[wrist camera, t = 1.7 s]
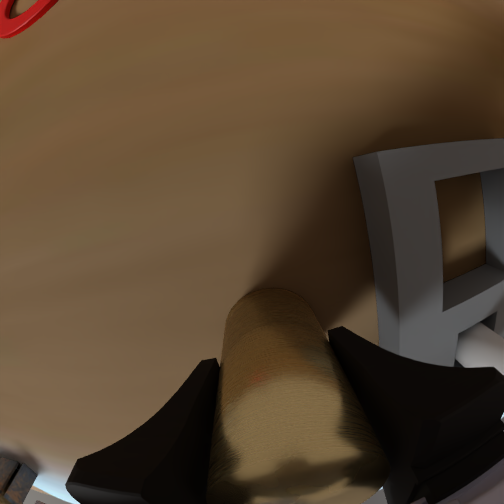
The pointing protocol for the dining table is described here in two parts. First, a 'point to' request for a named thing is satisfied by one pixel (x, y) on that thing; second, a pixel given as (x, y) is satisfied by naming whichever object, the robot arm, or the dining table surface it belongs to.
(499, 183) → the grey holder block
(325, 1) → the dining table surface
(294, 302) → the cylinder
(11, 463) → the ruin model on sheet
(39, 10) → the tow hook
